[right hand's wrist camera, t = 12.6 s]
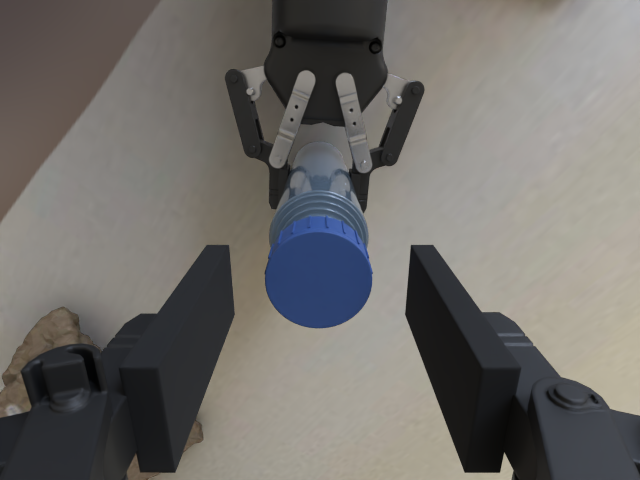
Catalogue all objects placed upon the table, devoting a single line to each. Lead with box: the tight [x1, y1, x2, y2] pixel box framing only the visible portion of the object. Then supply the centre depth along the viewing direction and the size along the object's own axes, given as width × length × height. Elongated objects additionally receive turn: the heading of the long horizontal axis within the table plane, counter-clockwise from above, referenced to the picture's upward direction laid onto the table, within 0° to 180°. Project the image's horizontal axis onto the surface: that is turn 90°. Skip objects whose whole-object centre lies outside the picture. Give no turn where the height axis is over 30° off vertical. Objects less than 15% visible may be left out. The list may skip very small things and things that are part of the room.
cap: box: [265, 216, 373, 328], centre depth 16 cm, size 4×4×2 cm
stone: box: [0, 307, 203, 480], centre depth 43 cm, size 21×15×6 cm
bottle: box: [269, 141, 369, 249], centre depth 26 cm, size 5×5×23 cm
